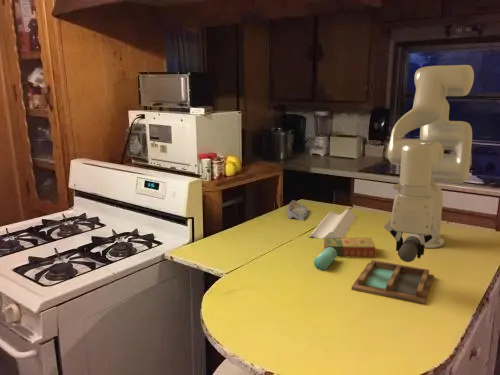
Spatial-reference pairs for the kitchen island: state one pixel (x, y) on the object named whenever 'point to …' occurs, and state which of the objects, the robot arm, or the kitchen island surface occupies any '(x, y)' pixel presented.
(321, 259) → the mint green cylinder
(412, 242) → the dark gray cylinder
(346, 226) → the crown molding
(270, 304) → the kitchen island surface
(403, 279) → the rack
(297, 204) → the stone
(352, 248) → the carton
